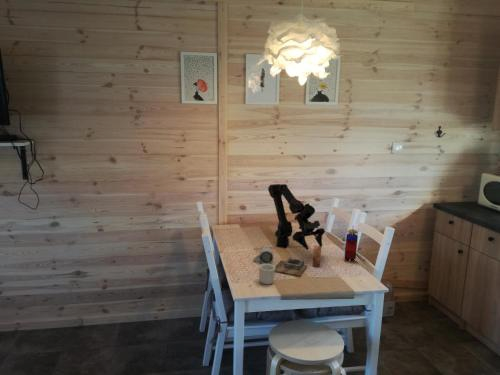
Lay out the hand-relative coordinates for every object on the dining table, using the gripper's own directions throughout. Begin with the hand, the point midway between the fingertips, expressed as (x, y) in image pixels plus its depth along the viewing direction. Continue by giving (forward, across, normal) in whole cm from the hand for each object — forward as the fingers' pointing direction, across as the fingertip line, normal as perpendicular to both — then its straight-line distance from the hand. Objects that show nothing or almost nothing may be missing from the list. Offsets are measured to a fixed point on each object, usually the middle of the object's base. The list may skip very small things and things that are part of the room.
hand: (314, 248), depth 215 cm
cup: (+11, -34, +2) cm, 36 cm away
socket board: (+6, -15, +7) cm, 18 cm away
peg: (+8, 0, +5) cm, 10 cm away
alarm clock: (+8, +24, +6) cm, 26 cm away
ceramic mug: (-4, -23, +17) cm, 29 cm away
